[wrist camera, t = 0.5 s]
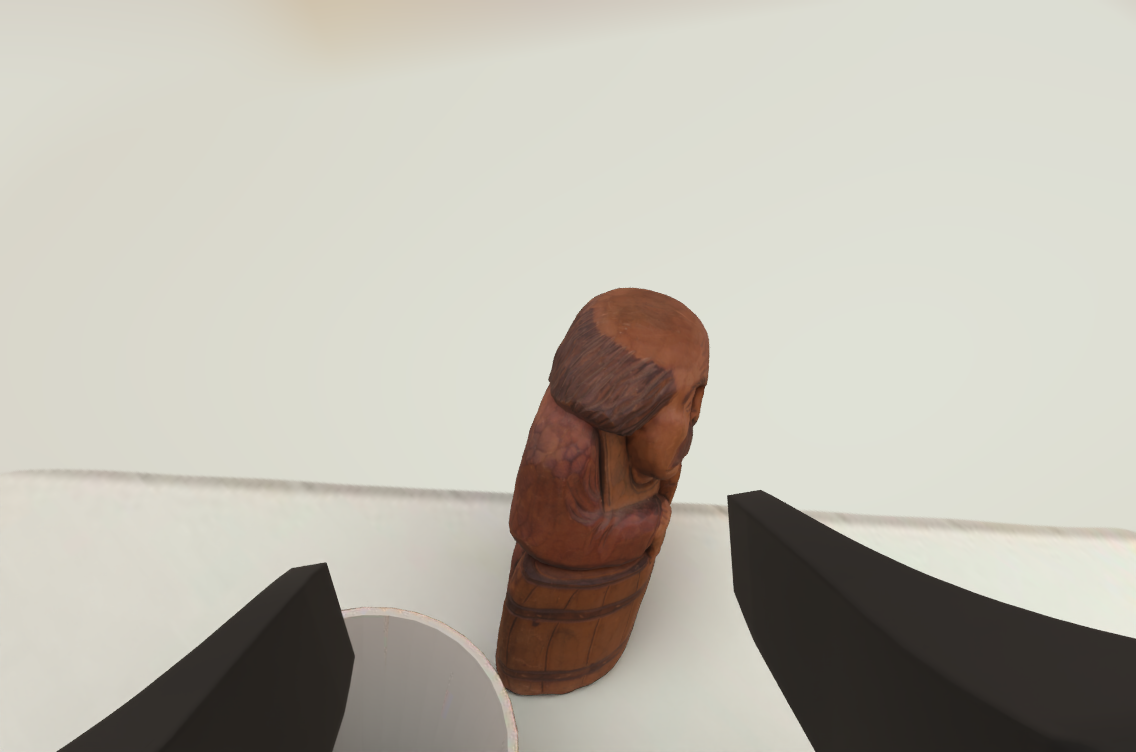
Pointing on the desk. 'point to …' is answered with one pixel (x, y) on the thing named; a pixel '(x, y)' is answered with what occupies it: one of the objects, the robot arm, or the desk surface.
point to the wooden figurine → (598, 487)
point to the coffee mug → (421, 689)
